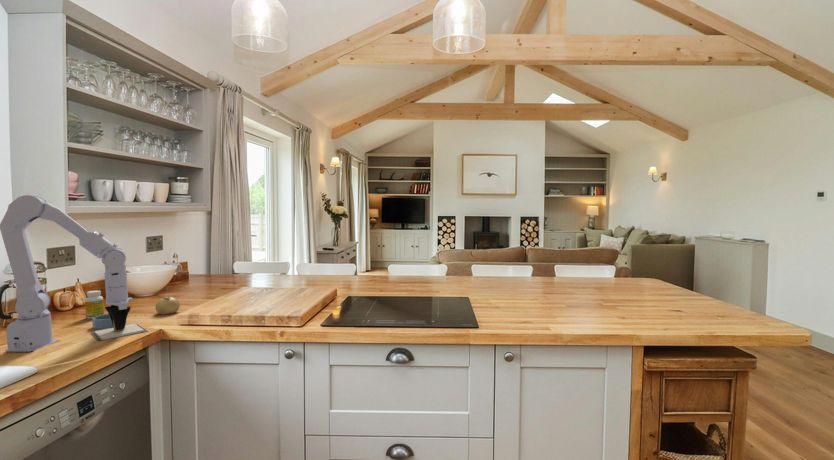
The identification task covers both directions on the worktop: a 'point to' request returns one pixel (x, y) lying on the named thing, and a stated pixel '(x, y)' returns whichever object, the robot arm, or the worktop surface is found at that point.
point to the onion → (167, 305)
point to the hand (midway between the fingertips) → (119, 328)
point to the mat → (115, 337)
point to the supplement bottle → (94, 304)
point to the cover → (118, 331)
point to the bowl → (102, 322)
